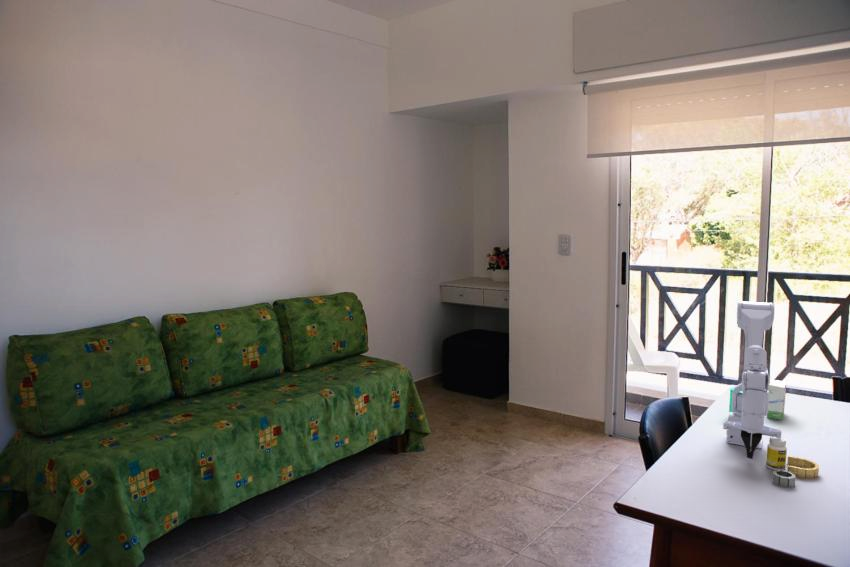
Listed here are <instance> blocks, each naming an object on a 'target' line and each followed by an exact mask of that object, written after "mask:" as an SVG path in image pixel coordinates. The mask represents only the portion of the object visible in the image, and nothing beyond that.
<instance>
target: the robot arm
mask: <svg viewBox="0 0 850 567" xmlns="http://www.w3.org/2000/svg"><path fill="white" fill-rule="evenodd" d="M736 308H737V309H736V311H737V312H736V325H737V328H738V329H741V330H743V333H744V336H745V338H744V339H745V341H744V353H743V358H744V359H743V361H744V362H743V371H742V373H741V374H742V375H741V382H740V383H739V384H738V383H737V385H735V386H733V387H734V389H733V394H732V411H733V412H729V411H728V419H727V420H724V421H723V427H722V429H723V430H726V443H727V444H731V445H732V444H733V445H738V446H743V447H745V452H746V458H747V459H752V460H753V459H754V453H755V451H756V449H762V446H763V445H762V444H763V436H768V437H776V438H779V439H781V438H782V429H778V428H774V427H769V426H766V425H764V424H765V417H767V414H768V406H769V400H768V389H769V383H770V376H769V368H768V367H767V366H768V363H767V362H768V359H767V358H768V357H767V354H768V353H767V350H766V349H764V348H763V342H764V332H765V331H769V330H770V329H771V327H772V326H773V322H774V319H775V304H774V303H773V302H763V301H762V302H759V301H757V302H756V301H746V300H745V301H743V300H739V301H738V302H737V307H736ZM740 391H742V393H738V392H740ZM735 411H736V412H735Z"/></svg>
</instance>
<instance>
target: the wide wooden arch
mask: <svg viewBox="0 0 850 567" xmlns="http://www.w3.org/2000/svg"><path fill="white" fill-rule="evenodd" d="M786 465H787V470H786V471H788V472H791V473H793V474H795V478H800V479H806V480H807V479H817V478H819V471H820V470H819V469H820V468H819V464H817V463H816V462H815V461H814V460H810V459H807V458H803V457H797V456H791V455H787V460H786ZM789 465H790V466H789ZM800 467H802V468H800Z"/></svg>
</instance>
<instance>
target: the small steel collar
mask: <svg viewBox="0 0 850 567" xmlns="http://www.w3.org/2000/svg"><path fill="white" fill-rule="evenodd" d="M771 481H772V483H773V484H774V485H777V486H779V487H783V488H787V489H788V488H789V487H790V488H794V487H796V477H795V474H793V473H791V472H788V471H787V470H785V469H784V470H772V480H771Z"/></svg>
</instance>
